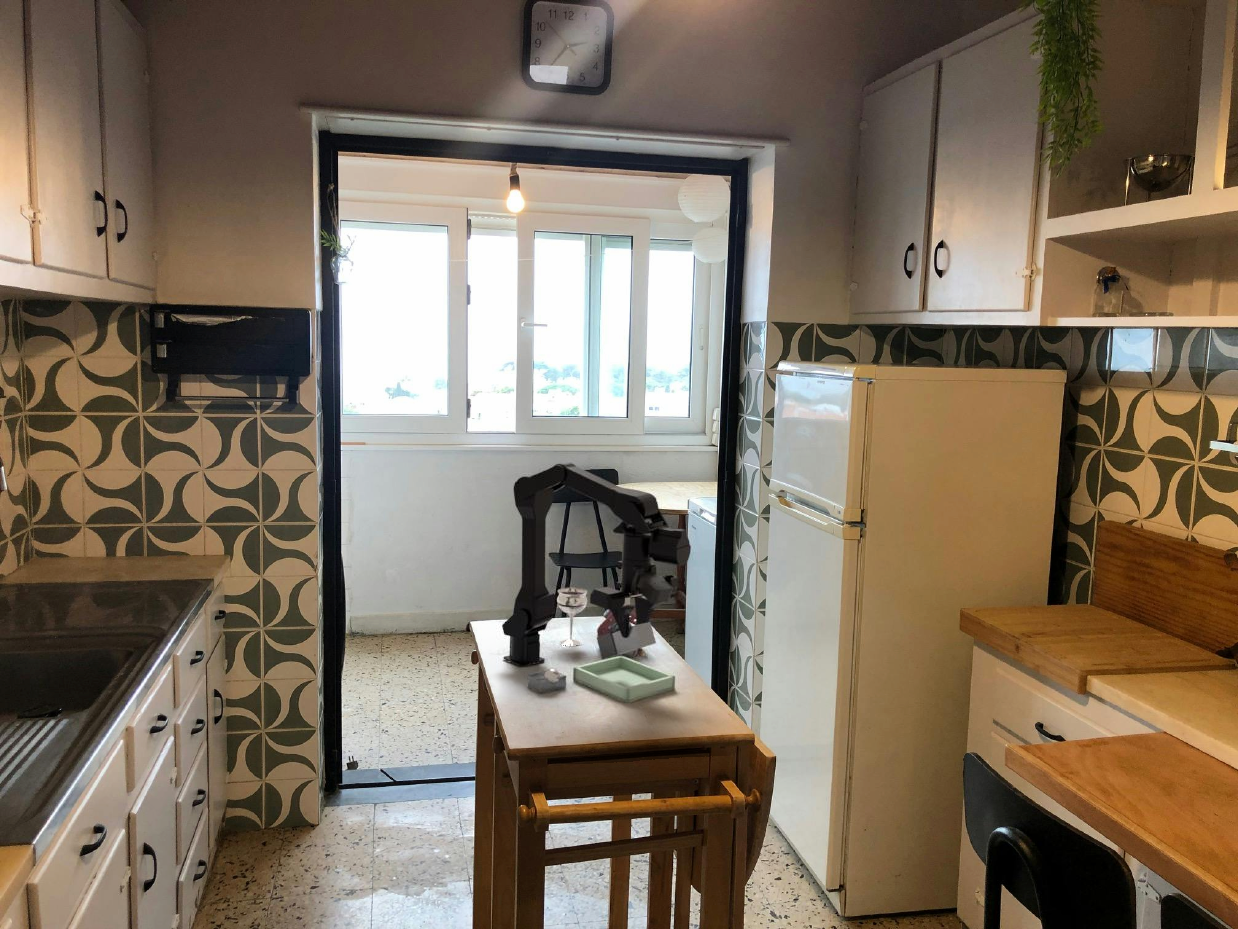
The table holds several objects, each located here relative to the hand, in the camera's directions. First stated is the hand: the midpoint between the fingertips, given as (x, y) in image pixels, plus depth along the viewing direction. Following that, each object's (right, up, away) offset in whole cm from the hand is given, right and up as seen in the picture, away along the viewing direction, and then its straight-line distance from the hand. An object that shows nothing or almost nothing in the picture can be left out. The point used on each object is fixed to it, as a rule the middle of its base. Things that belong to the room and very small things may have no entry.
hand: (632, 635), depth 187 cm
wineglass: (-14, -7, +28) cm, 32 cm away
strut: (-1, -3, +1) cm, 3 cm away
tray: (-2, -10, +3) cm, 11 cm away
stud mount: (-17, -10, -1) cm, 20 cm away
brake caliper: (-2, -8, +24) cm, 25 cm away
